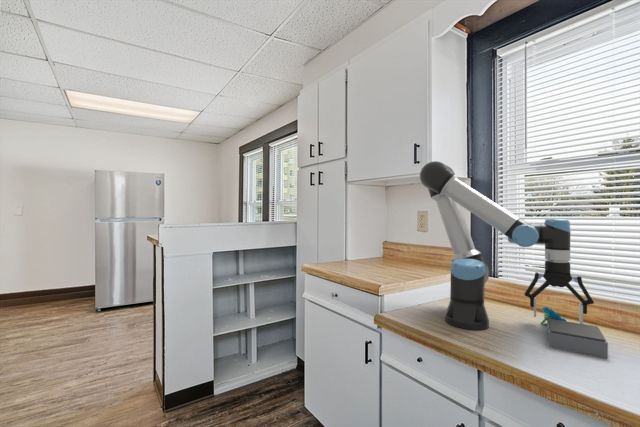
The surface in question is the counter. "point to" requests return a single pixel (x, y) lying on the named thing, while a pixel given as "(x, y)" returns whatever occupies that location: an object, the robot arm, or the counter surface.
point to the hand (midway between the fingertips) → (557, 319)
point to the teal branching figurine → (551, 315)
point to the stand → (576, 338)
